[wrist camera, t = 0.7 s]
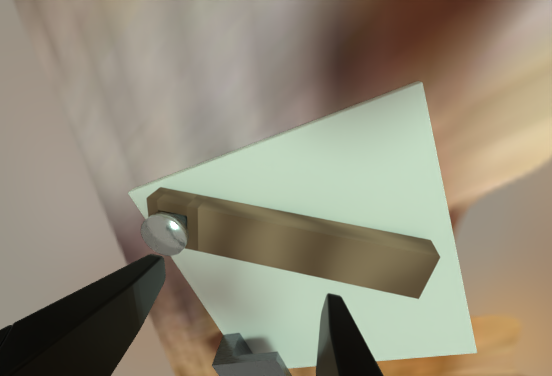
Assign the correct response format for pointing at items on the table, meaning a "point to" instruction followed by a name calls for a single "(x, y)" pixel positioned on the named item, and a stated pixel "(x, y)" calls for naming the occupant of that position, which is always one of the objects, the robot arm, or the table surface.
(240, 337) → the keeper
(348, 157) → the base plate
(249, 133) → the table surface
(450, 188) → the table surface
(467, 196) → the table surface
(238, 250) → the link
